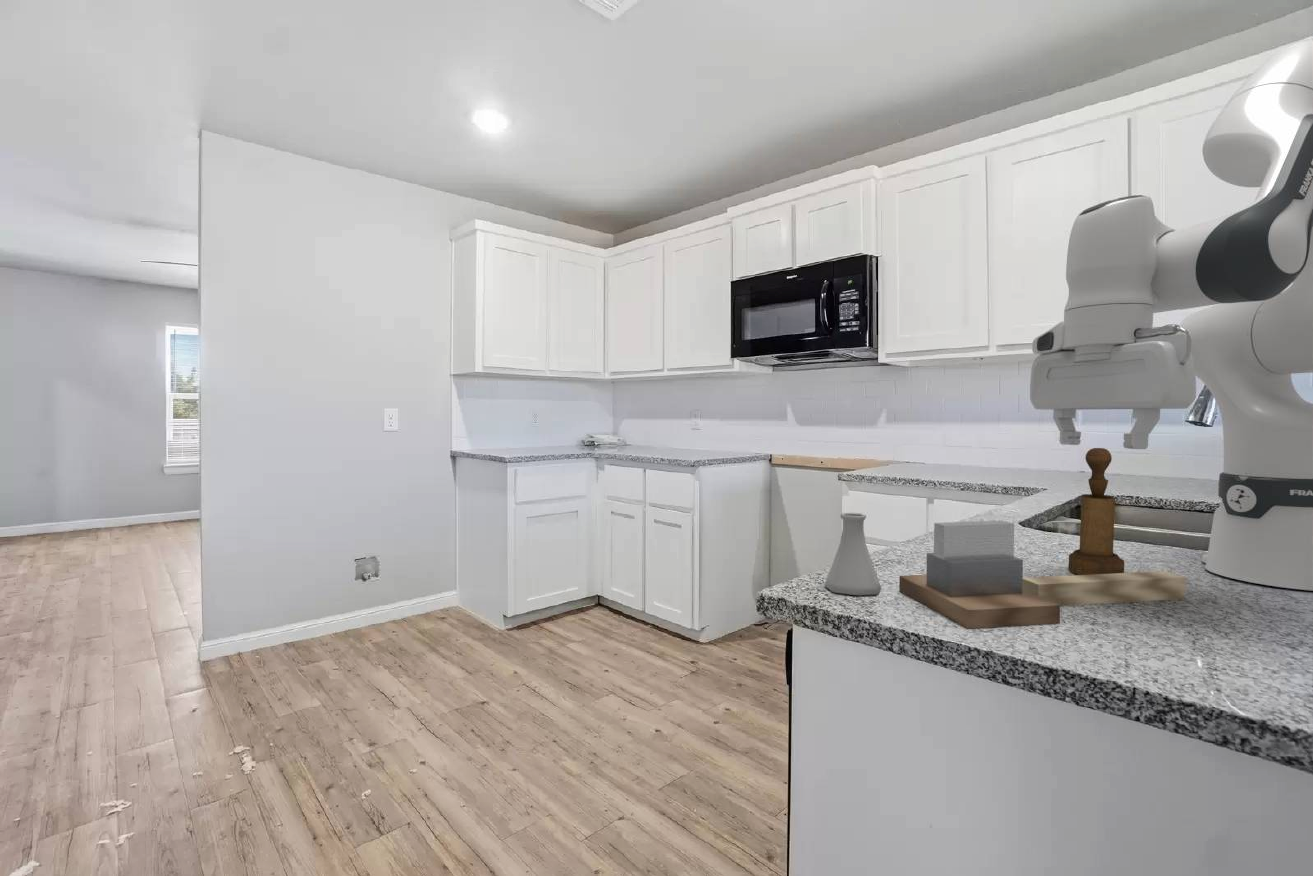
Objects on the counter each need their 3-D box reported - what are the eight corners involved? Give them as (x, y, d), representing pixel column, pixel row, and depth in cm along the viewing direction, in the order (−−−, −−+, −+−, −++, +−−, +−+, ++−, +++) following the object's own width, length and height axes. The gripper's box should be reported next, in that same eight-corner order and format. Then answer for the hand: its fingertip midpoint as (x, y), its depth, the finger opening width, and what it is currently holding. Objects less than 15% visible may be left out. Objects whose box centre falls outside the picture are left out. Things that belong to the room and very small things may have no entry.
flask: (885, 599, 77) (886, 519, 76) (826, 595, 78) (826, 518, 78) (877, 583, 84) (877, 510, 83) (822, 580, 85) (822, 509, 85)
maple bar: (1162, 594, 79) (1162, 571, 79) (1185, 601, 76) (1185, 577, 76) (1020, 601, 76) (1020, 577, 76) (1038, 609, 73) (1038, 584, 73)
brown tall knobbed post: (1124, 582, 83) (1127, 450, 82) (1066, 575, 87) (1069, 448, 86) (1123, 572, 88) (1127, 447, 88) (1069, 565, 92) (1072, 446, 91)
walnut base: (976, 587, 81) (977, 572, 81) (1059, 623, 67) (1060, 605, 67) (899, 591, 80) (899, 575, 80) (968, 628, 66) (968, 610, 66)
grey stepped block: (993, 581, 77) (994, 518, 76) (1022, 593, 72) (1023, 525, 71) (926, 585, 75) (927, 520, 75) (951, 597, 70) (952, 528, 70)
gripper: (1217, 322, 65) (1209, 452, 65) (1064, 344, 85) (1059, 443, 86) (1164, 320, 64) (1157, 451, 65) (1023, 342, 84) (1018, 442, 85)
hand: (1100, 446), depth 75 cm, fingers open, 8 cm apart
